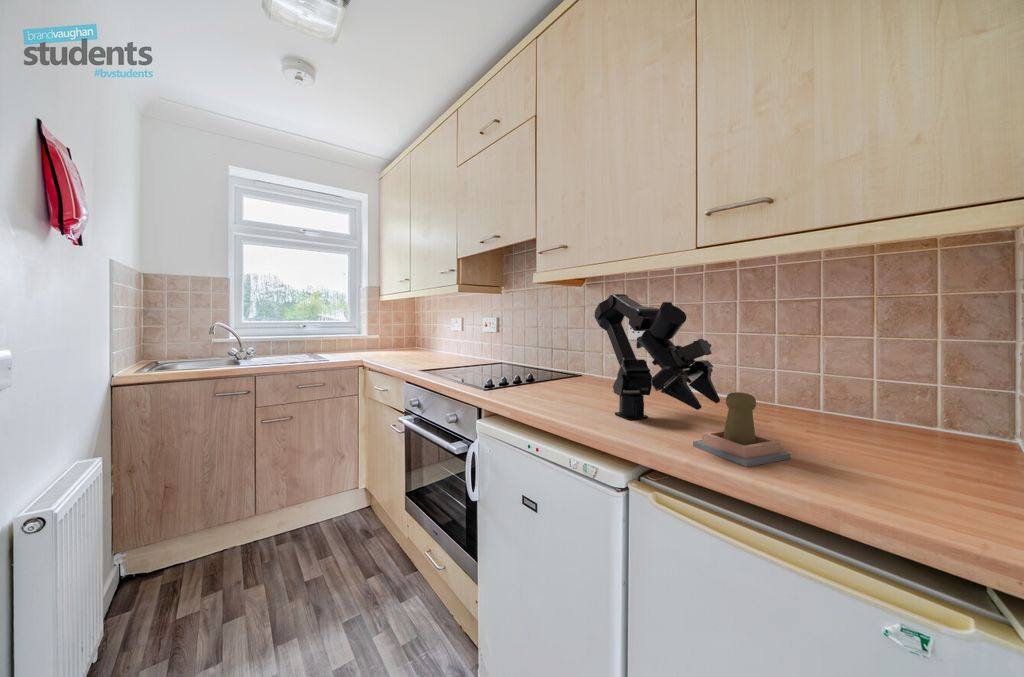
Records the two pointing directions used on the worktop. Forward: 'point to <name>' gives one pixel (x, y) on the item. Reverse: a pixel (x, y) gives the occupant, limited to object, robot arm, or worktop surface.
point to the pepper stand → (742, 449)
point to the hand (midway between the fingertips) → (709, 405)
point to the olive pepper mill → (740, 418)
